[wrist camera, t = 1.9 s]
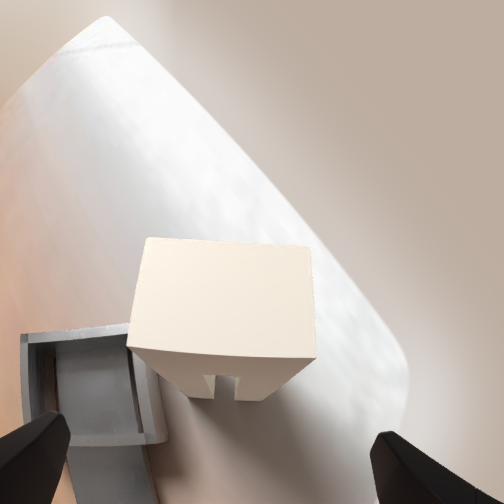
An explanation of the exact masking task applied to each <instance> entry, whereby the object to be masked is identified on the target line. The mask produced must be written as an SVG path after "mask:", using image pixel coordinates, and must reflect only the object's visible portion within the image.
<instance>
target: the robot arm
mask: <svg viewBox="0 0 504 504" xmlns="http://www.w3.org/2000/svg"><path fill="white" fill-rule="evenodd" d="M70 439H71V433H70V430H69V427H68V424H67V422H66V419H65V417H64V415H63V414H62V413H59V412H56V411H52V410H51V411H48V412H46V413H44V414H43V415H41V416H39V417H37V418H36V419H34V420H32V421H30V422H29V423H27V424H25V425H23V426H21V427H20V428H18V429H16V430H14V431H12V432H11V433H9V434H7V435H5V436H3V437H1V438H0V504H51V502H52V500H53V497H54V494H55V491H56V489H57V486H58V483H59V480H60V477H61V474H62V470H63V466H64V462H65V458H66V454H67V450H68V447H69V443H70ZM370 459H371V464H372V469H373V474H374V480H375V485H376V491H377V496H378V500H379V503H380V504H504V503H502V502H500V501H498V500H496V499H494V498H493V497H491V496H489V495H487V494H485V493H484V492H482V491H481V490H479V489H478V488H476V489H475V487H474V486H472V485H471V484H470V483H468V482H466V481H465V480H463V479H462V478H460V477H459V476H457V475H456V474H454V473H453V472H451V471H450V470H448V469H447V468H445V467H444V466H442V465H441V464H439V463H438V462H436V461H435V460H433V459H432V458H430V457H429V456H428V455H426V454H425V453H423V452H422V451H420V450H419V449H418V448H416V447H415V446H413V445H412V444H410V443H409V442H408V441H406V440H405V439H403V438H402V437H401V436H399V435H398V434H396V433H395V432H393V431H386V432H381V433H379V434H378V435H377V438H376V440H375V442H374V444H373V446H372V448H371V451H370Z"/></svg>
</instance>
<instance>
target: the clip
mask: <svg viewBox="0 0 504 504" xmlns="http://www.w3.org/2000/svg"><path fill="white" fill-rule="evenodd" d="M126 346H127V347H128V348H129V349H130V350H131V351H133V352H134V353H135V354H136V355H137V356H138V357H139V358H140V359H142V360H143V361H144V362H145V363H146V364H147V365H149V366H150V367H151V368H152V369H153V370H155V371H156V372H157V373H158V374H159V375H161V376H162V377H163V378H164V379H165V380H167V381H168V382H169V383H170V384H172V385H173V386H174V387H175V388H177V389H178V390H179V391H180V392H182V393H183V394H184V395H186V396H187V397H193V398H205V399H214V394H215V376H216V375H218V376H235V400H239V401H262V400H264V399H265V398H266V397H268V396H269V395H270V394H272V393H273V392H274V391H276V390H277V389H278V388H280V387H281V386H282V385H283V384H285V383H286V382H287V381H289V380H290V379H291V378H292V377H294V376H295V375H296V374H297V373H299V372H300V371H301V370H302V369H304V368H305V367H306V366H307V365H309V364H310V363H311V362H312V361H313V360H315V359H316V358H317V349H316V327H315V308H314V292H313V277H312V263H311V251H310V247H305V246H289V245H273V244H257V243H240V242H223V241H206V240H189V239H171V238H153V237H147V239H146V243H145V248H144V252H143V257H142V261H141V266H140V271H139V276H138V281H137V286H136V291H135V296H134V302H133V307H132V313H131V319H130V325H129V331H128V338H127V344H126Z"/></svg>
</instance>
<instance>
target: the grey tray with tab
mask: <svg viewBox="0 0 504 504" xmlns="http://www.w3.org/2000/svg"><path fill="white" fill-rule="evenodd" d="M129 325H130V323H123V324H115V325H107V326H99V327H90V328H81V329H72V330H62V331H52V332H41V333H30V334H21V338H20V375H21V396H22V409H23V420H24V425H25V424H27V423H29V422H30V421H32V420H34V419H36V418H37V417H39V416H41V415H43V414H44V413H46V412H48V411H51V410H52V411H56V412H57V407H56V396H55V383H54V364H53V357H56V366H57V383H58V396H59V406H60V413H62V414H63V415H64V417H65V419H66V422H67V424H68V427H69V430H70V433H71V439H70V443H69V447H68V450H67V454H66V456H67V461H68V467H69V472H70V476H71V481H72V485H73V490H74V494H75V498H76V502H77V504H160V503H159V499H158V496H157V492H156V488H155V484H154V480H153V476H152V471H151V467H150V462H149V458H148V453H147V448H146V444H157V443H162V442H166V441H169V436H168V431H167V426H166V421H165V415H164V410H163V404H162V398H161V392H160V386H159V380H158V373H157V372H156V371H155V370H153V369H152V368H151V367H150V366H149V365H147V364H146V363H145V362H144V361H143V360H142V359H140V358H139V357H138V356H137V355H136V354H135V353H134V352H133V351H131V350H130V349H129V348H128V347H127V346H126V344H127V338H128V331H129ZM132 355H133V359H132ZM133 364H134V367H133ZM134 372H135V375H134ZM135 380H136V383H135ZM136 387H137V390H136ZM137 394H138V397H137ZM138 401H139V404H138ZM139 407H140V410H139ZM140 413H141V416H140ZM141 419H142V422H141ZM142 425H143V427H142ZM143 430H144V433H143Z"/></svg>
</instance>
